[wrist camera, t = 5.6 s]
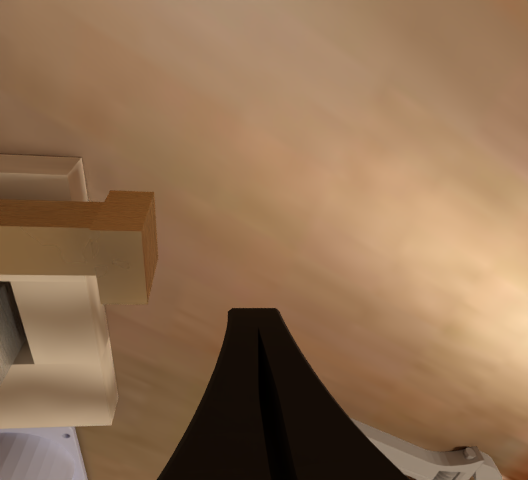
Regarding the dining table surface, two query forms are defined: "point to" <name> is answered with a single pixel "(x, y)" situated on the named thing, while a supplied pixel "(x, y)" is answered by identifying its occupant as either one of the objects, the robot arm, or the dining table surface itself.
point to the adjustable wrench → (432, 459)
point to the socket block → (56, 320)
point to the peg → (9, 329)
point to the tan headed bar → (84, 242)
